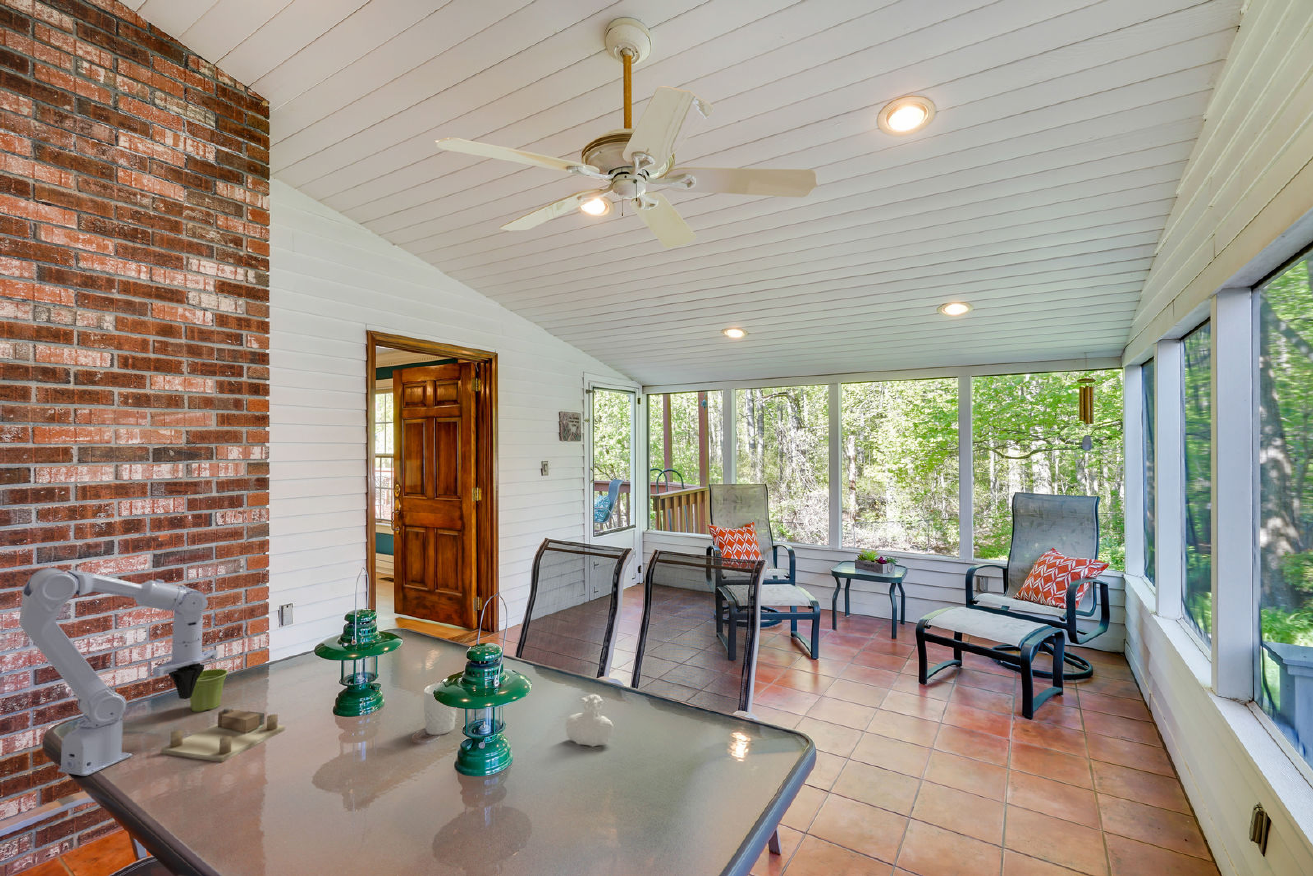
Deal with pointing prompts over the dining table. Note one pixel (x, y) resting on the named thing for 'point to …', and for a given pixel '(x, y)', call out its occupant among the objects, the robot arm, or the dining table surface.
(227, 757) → the tan peg board
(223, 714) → the hinged leg
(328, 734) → the dining table surface
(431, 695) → the white cup
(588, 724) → the white sack
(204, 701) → the plant pot
